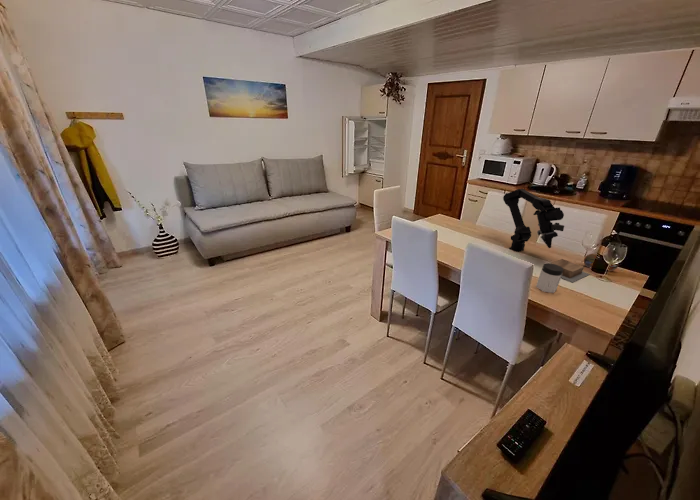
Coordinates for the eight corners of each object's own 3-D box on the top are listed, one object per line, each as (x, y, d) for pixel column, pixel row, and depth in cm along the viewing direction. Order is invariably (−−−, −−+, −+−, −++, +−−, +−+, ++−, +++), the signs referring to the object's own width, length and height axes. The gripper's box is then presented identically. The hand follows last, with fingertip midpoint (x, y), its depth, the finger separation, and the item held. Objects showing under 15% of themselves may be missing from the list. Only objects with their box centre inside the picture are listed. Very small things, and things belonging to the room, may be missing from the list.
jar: (537, 291, 143) (545, 269, 138) (533, 282, 150) (540, 261, 145) (558, 294, 141) (567, 272, 136) (553, 286, 148) (561, 264, 143)
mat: (546, 272, 161) (546, 271, 161) (563, 265, 169) (564, 264, 169) (572, 282, 151) (572, 282, 151) (589, 274, 159) (589, 274, 159)
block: (550, 263, 161) (572, 271, 153) (562, 258, 167) (584, 266, 158) (548, 269, 163) (569, 278, 154) (560, 265, 168) (581, 273, 160)
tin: (582, 266, 168) (587, 253, 165) (581, 264, 171) (586, 251, 167) (615, 273, 162) (621, 259, 159) (613, 270, 165) (619, 257, 161)
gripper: (566, 219, 155) (571, 247, 157) (556, 216, 173) (561, 242, 174) (541, 224, 160) (547, 251, 161) (534, 221, 177) (540, 246, 178)
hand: (549, 247), depth 168 cm, fingers closed
